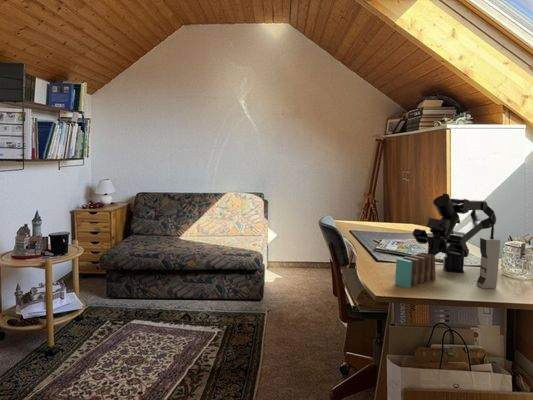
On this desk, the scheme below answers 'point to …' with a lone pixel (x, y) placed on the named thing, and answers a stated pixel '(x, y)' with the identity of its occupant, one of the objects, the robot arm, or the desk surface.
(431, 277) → the domino
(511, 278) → the desk surface
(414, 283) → the domino
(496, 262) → the vintage mobile phone
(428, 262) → the domino
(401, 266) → the domino
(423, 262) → the domino
